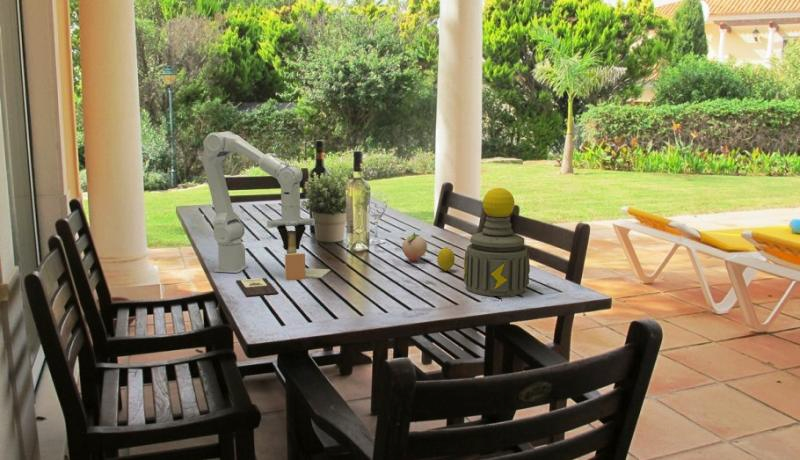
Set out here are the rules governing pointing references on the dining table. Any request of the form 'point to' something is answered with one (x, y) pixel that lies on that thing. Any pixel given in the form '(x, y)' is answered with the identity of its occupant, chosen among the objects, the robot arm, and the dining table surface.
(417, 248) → the decorative fruit
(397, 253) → the dining table surface
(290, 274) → the tile
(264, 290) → the chocolate bar
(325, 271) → the mat
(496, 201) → the decorative lamp
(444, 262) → the lemon
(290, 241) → the dowel
